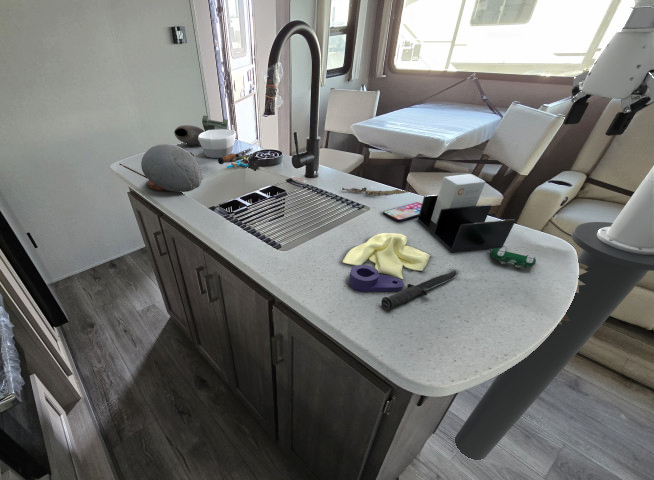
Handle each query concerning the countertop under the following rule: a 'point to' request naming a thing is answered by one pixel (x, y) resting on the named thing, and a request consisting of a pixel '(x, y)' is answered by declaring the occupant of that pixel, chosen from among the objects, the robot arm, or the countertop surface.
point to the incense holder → (148, 181)
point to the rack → (464, 227)
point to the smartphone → (404, 212)
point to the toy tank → (213, 124)
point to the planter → (188, 134)
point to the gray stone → (171, 168)
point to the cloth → (388, 254)
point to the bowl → (217, 142)
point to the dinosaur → (241, 156)
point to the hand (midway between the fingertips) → (590, 129)
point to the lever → (373, 280)
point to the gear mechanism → (239, 162)
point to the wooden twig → (377, 192)
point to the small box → (458, 193)
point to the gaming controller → (513, 257)
